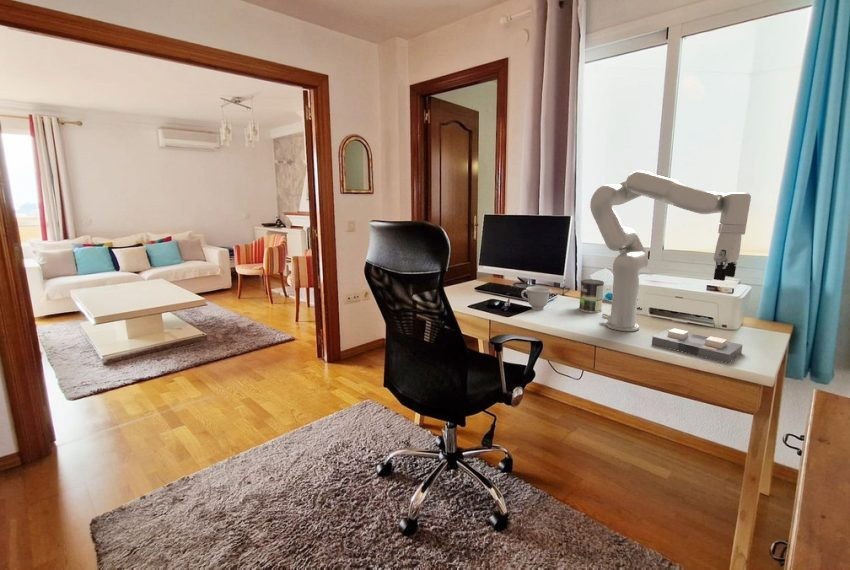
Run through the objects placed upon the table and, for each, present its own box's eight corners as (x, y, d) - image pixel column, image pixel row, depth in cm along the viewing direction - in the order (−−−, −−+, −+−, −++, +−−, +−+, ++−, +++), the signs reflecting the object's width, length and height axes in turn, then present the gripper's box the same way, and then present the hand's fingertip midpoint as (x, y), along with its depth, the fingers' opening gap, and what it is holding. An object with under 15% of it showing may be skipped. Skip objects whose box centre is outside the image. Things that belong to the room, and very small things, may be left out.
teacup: (515, 306, 210) (516, 287, 208) (542, 304, 213) (543, 285, 211) (526, 313, 199) (527, 292, 197) (555, 310, 202) (556, 290, 200)
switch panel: (651, 344, 156) (652, 336, 155) (667, 336, 164) (668, 328, 164) (728, 363, 137) (729, 354, 137) (741, 352, 146) (742, 344, 145)
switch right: (704, 347, 146) (705, 339, 146) (709, 343, 149) (710, 336, 149) (721, 351, 142) (722, 342, 142) (726, 347, 145) (727, 339, 145)
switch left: (667, 338, 155) (668, 331, 155) (673, 335, 158) (673, 328, 158) (682, 341, 151) (683, 334, 151) (687, 338, 155) (688, 331, 154)
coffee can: (584, 313, 197) (586, 283, 194) (575, 307, 208) (577, 279, 205) (605, 312, 198) (608, 283, 195) (596, 306, 208) (598, 279, 205)
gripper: (727, 227, 152) (720, 273, 156) (710, 230, 141) (702, 279, 145) (753, 228, 146) (744, 276, 150) (736, 231, 136) (728, 283, 140)
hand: (724, 278), depth 148 cm, fingers open, 9 cm apart
